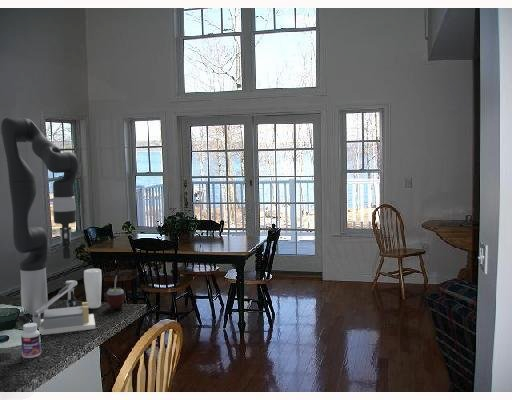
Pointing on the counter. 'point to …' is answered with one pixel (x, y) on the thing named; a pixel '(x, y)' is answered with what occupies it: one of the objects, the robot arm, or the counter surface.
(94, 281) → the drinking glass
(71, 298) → the push button
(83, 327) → the base
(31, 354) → the pill bottle
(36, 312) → the latch bar
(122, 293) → the mate gourd
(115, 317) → the counter surface
